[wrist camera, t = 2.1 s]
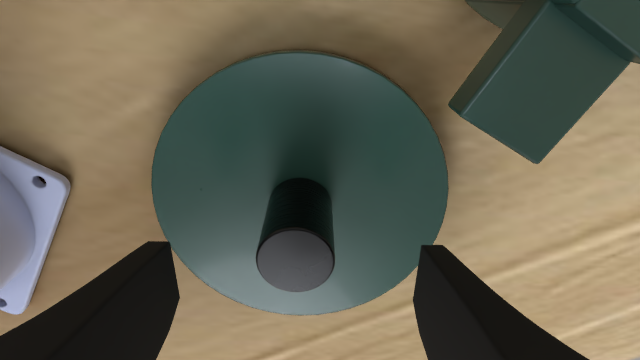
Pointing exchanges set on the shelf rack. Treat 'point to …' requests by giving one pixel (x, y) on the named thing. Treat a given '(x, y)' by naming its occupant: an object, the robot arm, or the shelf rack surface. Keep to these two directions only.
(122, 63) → the shelf rack surface
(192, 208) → the pot lid
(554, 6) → the pot
